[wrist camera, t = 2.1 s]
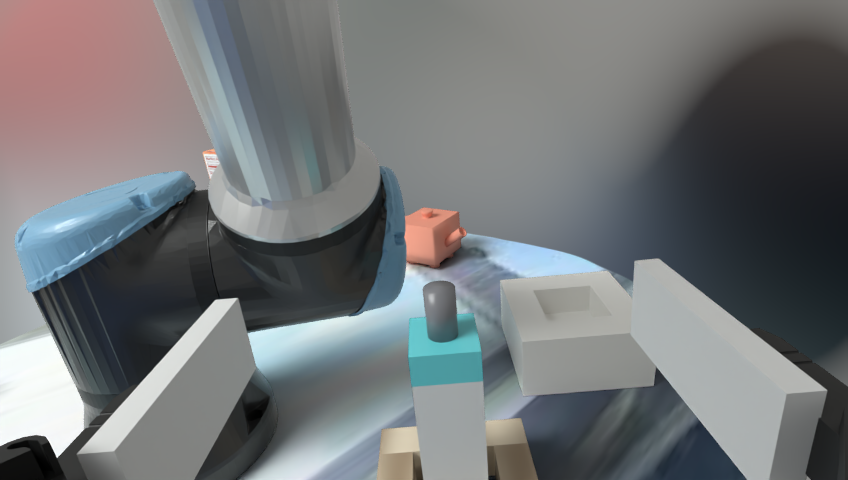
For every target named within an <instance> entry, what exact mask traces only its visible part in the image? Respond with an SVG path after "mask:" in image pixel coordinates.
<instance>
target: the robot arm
mask: <svg viewBox="0 0 848 480" xmlns="http://www.w3.org/2000/svg"><path fill="white" fill-rule="evenodd" d="M153 1H154V4H155V6H156V9H157V11H158V14H159V16H160V18H161V21H162V23H163V26H164V28H165V31H166V33H167V35H168V38H169V40H170V43H171V45H172V48H173V50H174V53H175V55H176V57H177V60H178V62H179V65H180V67H181V70H182V72H183V75H184V77H185V79H186V82H187V84H188V87H189V89H190V91H191V94H192V96H193V99H194V101H195V103H196V106H197V108H198V111H199V114H200V116H201V118H202V121H203V123H204V125H205V128H206V131H207V133H208V135H209V138H210V140H211V143H212V145H213V148H214V150H215V153H216V155H217V157H218V160H219V162H220V164H219V165H218V166H217V167H216V169H215V171H214V172H213V174H212V177H211V180H210V183H209V188H208V190H201V191H197V190H195V187H196V186H195V182H194V181H193V180H191V178H190V176H189V175H188V174H187V173H185V172H181V171H175V172H165V173H158V174H153V175H149V176H144V177H140V178H136V179H132V180H129V181H125V182H122V183H118V184H115V185H111V186H108V187H105V188H102V189H99V190H96V191H92V192H89V193H86V194H84V195H81V196H78V197H75V198H73V199H70V200H68V201H65V202H63V203H60V204H58V205H55V206H53V207H50V208H48V209H46V210H44V211H42V212H40V213H38V214H36V215H34V216H33V217H31V218H30V219H28V220H27V221H26V222H25V223H24V224H23V225H22V226H21V227H20V228H19V230H18V231H17V233H16V237H15V248H16V252H17V255H18V257H19V261H20V263H21V267H22V270H23V273H24V276H25V279H26V282H27V284H26V288H27V290H28V292H32V294H33V296H34V298H35V300H36V303H37V305H38V307H39V309H40V311H41V313H42V315H43V317H44V319H45V322H46V324H47V326H48V328H49V330H50V332H51V334H52V337H53V339H54V341H55V343H56V345H57V347H58V349H59V351H60V354H61V356H62V358H63V360H64V362H65V364H66V366H67V369H68V371H69V373H70V375H71V377H72V379H73V381H74V383H75V385H76V387H77V389H78V392H79V394H80V396H81V398H82V401H83V403H84V430H83V431H82V432H81V434H80V435H79V436H78V437H77V438H76V439H75V440H74V441H73V442H72V443H71V444H70V445H69V446H68V447H67V448H66V449H65V451H64V452H63V453H62V454H61V455H60V456H59V457H58V458H57V457H56V455H55V453H54V451H53V449H52V447H51V445H50V443H49V441H48V440H47V438H46V437H44V436H38V435H34V436H28V437H23V438H20V439H17V440H14V441H11V442H8V443H6V444H4V445H2V446H0V480H235V479H236V478H237V477H239V476H240V475H241V474H242V473H243V472H245V471H246V470H247V469H248V468H249V467H250V466H251V465H252V464H253V463H254V462H255V461H256V460H257V458H258V457H259V456H260V455H261V454H262V452H263V451H264V450H265V448H266V447H267V445H268V444H269V442H270V440H271V438H272V436H273V434H274V432H275V429H276V425H277V420H278V411H277V406H276V402H275V399H274V395H273V391H272V388H271V386H270V384H269V382H268V381H267V380H266V378H265V377H264V376H263V374H262V373H261V372H260V371H259V369H258V368H257V367H256V364H255V361H254V357H253V353H252V349H251V345H250V341H249V338H248V334H247V333H250V332H255V331H261V330H266V329H272V328H277V327H283V326H289V325H295V324H301V323H307V322H313V321H319V320H325V319H331V318H337V317H344V316H357V315H359V314H361V313H363V312H364V311H368V310H373V309H377V308H381V307H385V306H387V305H389V304H391V303H392V302H393V301H394V300H395V299H396V298H397V297H398V295H399V294H400V292H401V289H402V286H403V283H404V278H405V271H406V257H407V247H406V241H405V238H404V236H405V231H406V224H405V213H404V206H403V199H402V195H401V190H400V187H399V184H398V181H397V178H396V176H395V174H394V172H393V171H392V170H391V169H390V168H388V167H384V166H379V164H378V161H377V159H376V157H375V155H374V153H373V152H372V151H371V149H370V148H369V147H368V146H367V145H366V144H364V143H363V142H362V141H360V140H359V139H357V138H356V137H354V133H353V124H352V116H351V107H350V99H349V91H348V83H347V75H346V66H345V59H344V50H343V42H342V34H341V26H340V18H339V10H338V2H337V0H153ZM630 334H631V336H632V337H633V338H634V339H635V341H636V342H637V343H638V344H639V346H640V347H641V348H642V349H643V351H644V352H645V353H646V354H647V356H648V357H649V358H650V359H651V361H652V362H653V363H654V364H655V366H656V367H657V368H658V369H659V371H660V372H661V373H662V374H663V376H664V377H665V378H666V379H667V380H668V382H669V383H670V384H671V385H672V387H673V388H674V389H675V390H676V392H677V393H678V394H679V395H680V397H681V398H682V399H683V400H684V402H685V403H686V404H687V405H688V407H689V408H690V409H691V410H692V412H693V413H694V414H695V415H696V417H697V418H698V419H699V420H700V421H701V423H702V424H703V425H704V426H705V428H706V429H707V430H708V431H709V433H710V434H711V435H712V436H713V438H714V439H715V440H716V441H717V443H718V444H719V445H720V446H721V448H722V449H723V450H724V451H725V453H726V454H727V455H728V456H729V458H730V459H731V460H732V461H733V462H734V464H735V465H736V466H737V467H738V469H739V470H740V471H741V472H742V474H743V475H744V476H745V477H746V479H747V480H806V477H807V476H808V477H809V478H810V479H811V480H848V387H847V386H846V385H844V384H843V383H842V382H840V381H839V380H838V379H836V378H835V377H834V376H832V375H831V374H830V373H828V372H827V371H826V370H824V369H823V368H821V367H820V366H819V365H817V364H816V363H812V360H811V359H809V358H808V357H807V356H805V355H804V354H802V353H799V352H798V350H797V349H796V348H794V347H793V346H792V345H790V344H789V343H787V342H786V341H785V340H783V339H782V338H780V337H778V336H776V335H773V334H771V333H769V332H766V331H764V330H762V329H760V328H755V329H748V328H747V327H746V326H744V325H743V324H741V323H740V322H739V321H738V320H736V319H735V318H734V317H733V316H731V315H730V314H729V313H727V312H726V311H725V310H724V309H722V308H721V307H720V306H718V305H717V304H716V303H715V302H713V301H712V300H711V299H709V298H708V297H707V296H706V295H704V294H703V293H702V292H701V291H699V290H698V289H697V288H695V287H694V286H693V285H692V284H690V283H689V282H687V281H686V280H685V279H684V278H682V277H681V276H680V275H679V274H678V273H676V272H675V271H674V270H672V269H671V268H670V267H669V266H667V265H666V264H665V263H663V262H662V261H661V260H660V259H649V260H639V261H635V265H634V281H633V298H632V314H631V330H630Z"/></svg>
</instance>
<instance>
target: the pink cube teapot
mask: <svg viewBox="0 0 848 480" xmlns="http://www.w3.org/2000/svg"><path fill="white" fill-rule="evenodd" d="M405 224H406V231H405V236H404V238H405V241H406V247H407V257H406V261H409V263H411V264H415V263H421V264H426V265H430V267H431V268H438V267H440V262H442V261H443V260H445V259H446V258H451V257H453V253H454V252H455V251H457V250H458V249H459V248H461V238H463V237H465V236H466V234H467V233H466V231H465V229H464V228H462V227H460V223H459V212H456V211H448V210H439V209H431V208H422V209H420V210H418V211H416V212H414V213H413V214H411V215H409V216H405Z"/></svg>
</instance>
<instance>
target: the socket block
mask: <svg viewBox="0 0 848 480" xmlns="http://www.w3.org/2000/svg"><path fill="white" fill-rule="evenodd" d="M500 289H501V319H502V329H503V332H504V335H505V338H506V342H507V345H508V348H509V351H510V355H511V358H512V361H513V365H514V368H515V371H516V374H517V378H518V381H519V384H520V388H521V391H522V394H523V396H535V395H548V394H560V393H573V392H585V391H598V390H610V389H623V388H635V387H648V386H654V379H655V371H656V366H655V364H654V363H653V362H652V361H651V359H650V358H649V357H648V356H647V354H646V353H645V352H644V351H643V349H642V348H641V347H640V346H639V344H638V343H637V342H636V341H635V339H634V338H633V337H632V336H631V334H630V330H631V314H632V298H631V297H630V296H629V294H628V293H627V292H626V291H625V290H624V289H623V288H622V286H621V285H620V284H619V283H618V282H617V281H616V280H615V278H614V277H613V276H612V275H611V274H610V273H609V272H608V271H601V272H590V273H578V274H567V275H555V276H543V277H532V278H520V279H509V280H500Z"/></svg>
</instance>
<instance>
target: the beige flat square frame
mask: <svg viewBox="0 0 848 480" xmlns="http://www.w3.org/2000/svg"><path fill="white" fill-rule="evenodd" d="M485 426H486V445H487V463H488V476H494V475H495V477H496V480H538V478H537V474H536V471H535V467H534V463H533V460H532V456H531V453H530V449H529V446H528V442H527V438H526V435H525V431H524V428H523V424H522V421H521V418H516V419H504V420H491V421H485ZM377 480H423V473H422V465H421V457H420V449H419V441H418V433H417V426H415V427H402V428H389V429H382V433H381V443H380V453H379V463H378V473H377Z"/></svg>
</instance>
